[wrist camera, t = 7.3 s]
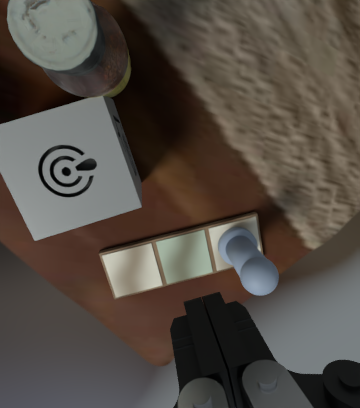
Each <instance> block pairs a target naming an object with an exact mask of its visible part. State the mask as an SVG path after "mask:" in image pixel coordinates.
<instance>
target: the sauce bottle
mask: <svg viewBox="0 0 360 408" xmlns="http://www.w3.org/2000/svg"><path fill="white" fill-rule="evenodd" d="M7 22H8V27H9V30H10V33H11V35H12V37H13V40H14V41H15V43H16V45H17V46H18V48H19V49H20V50H21V51H22V53H23V54H24V56H26V57H27V58H28V59H29V60H30V61H32V62H33V63H35V64H37V65H38V66H40V67H42V68H43V70H44V71H45V73H46V74H47V75H48V77H49V78H50V79H51V80H52V81H53V82H54V83H55V84H56V85H58V86H59V87H61V88H62V89H63V90H65V91H67V92H69V93H72V94H74V95H77V96H82V97H88V98H93V97H100V96H107V97H109V98H110V97H114V96H116V95H117V94H119V93H120V92H121V91H122V90H123V89H124V88H125V87H126V85H127V83H128V81H129V78H130V74H131V67H130V57H129V52H128V48H127V44H126V40H125V38H124V35H123V33H122V32H121V29H120V27H119V25H118V24H117V22H116V21H115V19H114V18H113V17H112V16H111V14H109V12H108V11H107V10H105V9H104V8H103V7H101V6H98V5H96V4H95V3H93V2H91V1H90V0H9V3H8V10H7Z"/></svg>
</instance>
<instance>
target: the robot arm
mask: <svg viewBox="0 0 360 408" xmlns="http://www.w3.org/2000/svg"><path fill="white" fill-rule="evenodd" d="M202 300H203V302H202ZM184 306H185V310H186V314H187V315H185V316H181V317H178V318H174V320H173V323H172V325H171V328H170V332H171V338H172V344H173V350H174V357H175V363H176V369H177V376H178V382H179V397H178V400H177V402H176V404H175V406H174V408H360V363H357V362H354V361H350V360H337V361H333V362H331V363H329V364H328V365H327V366H326V367H325V368H324V370H323V374H299V373H295V372H292V371H289V370H287V369H286V368H285V367H284V366H282V365H281V364H279V363H278V362H277V361H276V360H275V358H274V357H273V355H272V353H271V351H270V350H269V348H268V346H267V344H266V343H265V341H264V339H263V337H262V336H261V334H260V332H259V331H258V329H257V327H256V325H255V323H254V322H253V320H252V319H251V316H250V315H249V313H248V311H247V309H246V308H245V307H244V306H243V305H241V304H240V303H238V302H237V301H234V302H230V303H227V304H225V302H224V300H223V298H222V296H221V294H220V292H217V293H213V294H210V295H206V296H202V299H201V297H199V298H196V299H192V300H188V301H185V302H184Z"/></svg>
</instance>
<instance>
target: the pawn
mask: <svg viewBox="0 0 360 408" xmlns="http://www.w3.org/2000/svg"><path fill="white" fill-rule="evenodd" d="M257 247H258V245H257V240H256V238H255V237H254V235H253V234H252V233H251V232H250V231H249V230H247V229H245V228H243V227H233V228H230V229H228V230H227V231H225V232H224V233H223V234H222V235H221V237H220V239H219V241H218V251H219V253H220V255H221V257H222V258H223V260H224V261H225V262H226V263H228V264H230V265H233V266H234V268H235V269H236V271H237V273H238V274H239V276H240V279H241V282H242V285H243V286H244V288H245V289H246V290H247V291H249V292H250V293H252V294H255V295H266V294H269V293H270V292H272V291H273V290H274V289H275V288H276V286H277V284H278V279H279V278H278V277H279V275H278V271H277V268H276V267H275V265H274V264H273V263H272V262H271V261H269V260H268V259H266V258H265V256H264V255H263V254H262V253H261V252H260V251H259V250H258V248H257Z"/></svg>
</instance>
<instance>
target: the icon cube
mask: <svg viewBox="0 0 360 408" xmlns="http://www.w3.org/2000/svg"><path fill="white" fill-rule="evenodd" d="M0 172H1V174H2V176H3V178H4V180H5V182H6V184H7V186H8V188H9V190H10V192H11V194H12V196H13V198H14V200H15V202H16V204H17V206H18V208H19V210H20V212H21V214H22V216H23V218H24V220H25V222H26V224H27V226H28V228H29V230H30V232H31V234H32V236H33V238H34V240H35V241H36V240H39V239H43V238H46V237H49V236H52V235H55V234H58V233H62V232H65V231H68V230H71V229H74V228H77V227H81V226H84V225H87V224H90V223H93V222H96V221H100V220H103V219H106V218H109V217H112V216H115V215H119V214H122V213H125V212H128V211H131V210H134V209H137V208H141V207H142V189H141V180H140V177H139V174H138V171H137V168H136V165H135V162H134V160H133V157H132V154H131V151H130V148H129V145H128V142H127V139H126V136H125V133H124V130H123V127H122V124H121V121H120V118H119V116H118V113H117V110H116V107H115V104H114V101H113V99H111V98H109V97H107V96H100V97H93V98H87V99H84V100H80V101H77V102H74V103H70V104H67V105H64V106H60V107H57V108H54V109H50V110H47V111H44V112H40V113H37V114H34V115H30V116H27V117H24V118H20V119H17V120H14V121H10V122H7V123H4V124H0Z"/></svg>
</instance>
